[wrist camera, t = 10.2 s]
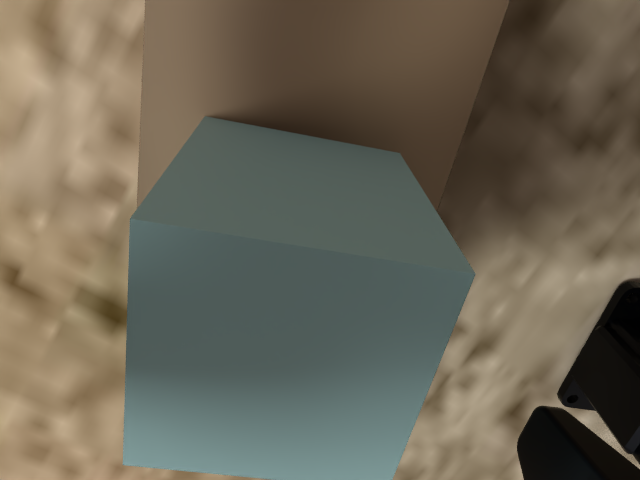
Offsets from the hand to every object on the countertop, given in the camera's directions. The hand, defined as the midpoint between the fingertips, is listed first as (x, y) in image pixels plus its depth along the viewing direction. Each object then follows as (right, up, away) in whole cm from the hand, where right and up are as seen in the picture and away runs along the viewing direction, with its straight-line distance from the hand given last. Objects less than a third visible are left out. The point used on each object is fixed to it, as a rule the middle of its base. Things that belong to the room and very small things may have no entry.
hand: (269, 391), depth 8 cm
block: (0, +3, +6) cm, 6 cm away
